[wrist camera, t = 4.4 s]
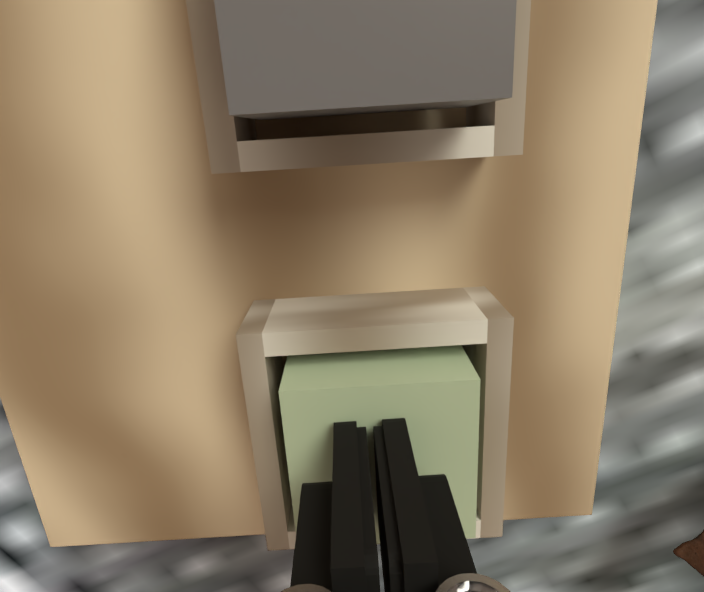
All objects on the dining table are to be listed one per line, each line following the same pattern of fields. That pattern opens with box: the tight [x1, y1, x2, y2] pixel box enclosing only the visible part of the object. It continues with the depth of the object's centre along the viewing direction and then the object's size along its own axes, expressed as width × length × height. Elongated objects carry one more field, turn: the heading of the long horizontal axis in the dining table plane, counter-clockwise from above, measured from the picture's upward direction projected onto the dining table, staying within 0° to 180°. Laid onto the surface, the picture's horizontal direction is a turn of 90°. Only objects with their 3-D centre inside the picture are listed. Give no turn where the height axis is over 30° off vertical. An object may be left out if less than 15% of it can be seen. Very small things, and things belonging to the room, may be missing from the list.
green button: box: [279, 345, 480, 544], centre depth 13 cm, size 4×4×3 cm
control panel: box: [0, 0, 658, 551], centre depth 11 cm, size 18×30×5 cm, turn 3°
